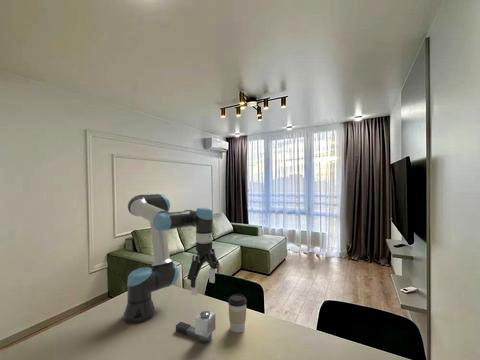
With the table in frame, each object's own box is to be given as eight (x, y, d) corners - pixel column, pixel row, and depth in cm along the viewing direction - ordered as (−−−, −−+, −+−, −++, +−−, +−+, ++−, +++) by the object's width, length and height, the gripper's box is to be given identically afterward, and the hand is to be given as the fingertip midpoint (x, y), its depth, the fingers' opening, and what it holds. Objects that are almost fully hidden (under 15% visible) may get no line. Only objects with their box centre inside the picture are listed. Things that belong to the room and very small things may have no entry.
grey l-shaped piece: (214, 337, 102) (214, 318, 102) (206, 345, 96) (206, 325, 97) (182, 326, 110) (182, 308, 110) (173, 333, 105) (173, 314, 105)
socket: (195, 333, 99) (195, 315, 99) (203, 325, 105) (203, 308, 105) (207, 337, 96) (207, 319, 96) (215, 329, 102) (215, 311, 102)
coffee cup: (245, 335, 103) (244, 302, 103) (225, 333, 105) (225, 300, 105) (248, 323, 112) (248, 293, 112) (230, 321, 114) (230, 291, 114)
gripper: (193, 249, 91) (192, 302, 91) (225, 237, 114) (224, 279, 113) (179, 246, 95) (178, 297, 95) (212, 235, 117) (212, 276, 117)
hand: (203, 288), depth 104 cm, fingers open, 13 cm apart
